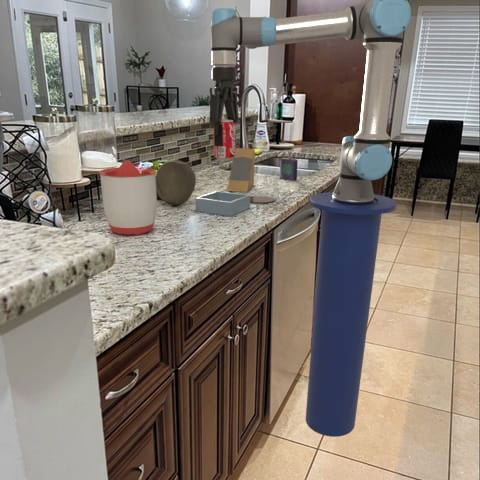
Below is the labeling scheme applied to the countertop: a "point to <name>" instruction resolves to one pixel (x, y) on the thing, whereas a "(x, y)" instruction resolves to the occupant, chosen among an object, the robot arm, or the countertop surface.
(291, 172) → the dark purple green box
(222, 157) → the soda can
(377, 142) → the robot arm
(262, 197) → the coaster
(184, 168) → the cantaloupe
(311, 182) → the countertop surface
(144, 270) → the countertop surface
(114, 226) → the citrus juicer
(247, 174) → the sandwich container
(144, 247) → the countertop surface
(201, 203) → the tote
